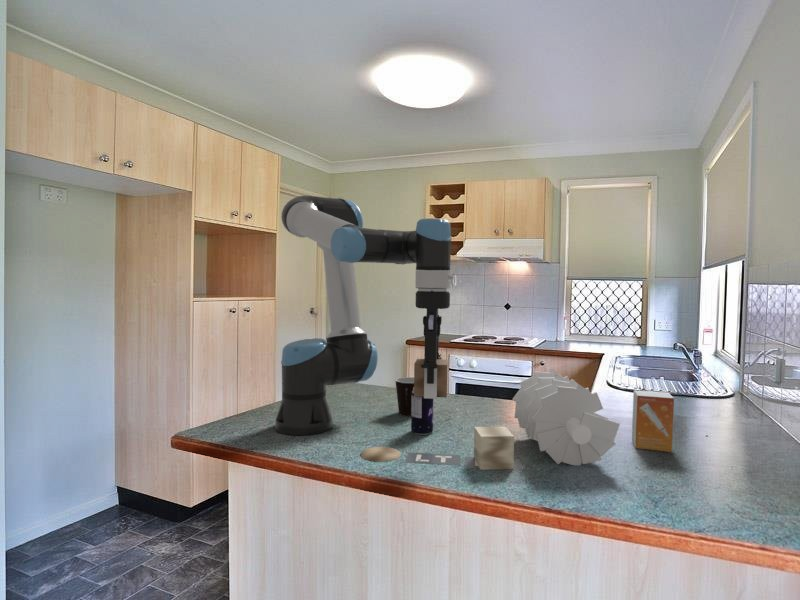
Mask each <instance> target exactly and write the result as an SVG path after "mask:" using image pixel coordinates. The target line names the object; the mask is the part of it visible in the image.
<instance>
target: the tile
mask: <svg viewBox="0 0 800 600" xmlns="http://www.w3.org/2000/svg"><path fill="white" fill-rule="evenodd" d="M461 456H462V455H461V454H449V453H448V454H443V453H425V452H409V451H408V452H407V455H406V456H405V457H406V458H405V461H404V463H405V464H407V463H408V464H409V463H410V464H425V465H443V466H444V465H445V466H448V465H449V466H459V467H460V466H461V461H462V460H461Z"/></svg>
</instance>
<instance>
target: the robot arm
mask: <svg viewBox="0 0 800 600" xmlns="http://www.w3.org/2000/svg"><path fill="white" fill-rule="evenodd" d="M280 217H281V222H282V224H283V227H284V228H285V230H286V231H287V232H289V233H290V234H292V235H293V236H296V237H298V238H308V239H310V240H312V241H314V242H315V243H316V244H317V247H318V248H319V249H321V250H322V254H323V263H324V272H325V283H326V284H325V285H326V293H327V303H328V304H327V305H328V314H329V323H330V333H328V335H327V336H326V338H325V339H326V340H325V339H324V338H319V337H317V338H316V337H314V338H305V339H300V340H295V341H292V342H289V343H287V344H285V345H284V347H283V348H282V350H281V351H282V354H281V361H280V362H281V363H280V364H281V402H280V405H279V408H278V411H277V415H276V417H275V421H274V423H275V424H274V426H275V431H276V432H278V433H281V434H285V435H290V436H307V435H315V434H319V433H324V432H327V431H329V430H330V429H331V428H332V427H333V415H332V412H331V410H330V405H329V404H328V401H327V387H329V386H337V385H344V384H345V385H346V384H355V383H356V384H357V383H359V382H365V381H367V380H369V379H370V378H372V376H373V375H374V373H375V371H376V369H377V366H378V357H379V355H378V349H377V347H376V345H375V343H374V341H372V340H370V339H368V334H367V332H366V331H365V330H363V329H362V326H361V319H360V318H361V317H360V308H359V297H358V287H357V281H356V270H355V263H371V264H372V263H375V264H376V263H378V264H379V263H380V264H394V265H406V264H408V265H409V264H415V288H416V289H417V291H416V292H415V307H416V308H418V309H422V310H423V309H426V315H424V316H423V317H422V325H423V336H424V358H423V359H424V365H421V368H424V398H430V399H433V400H436V399H437V398H438V397H437V368H436V367H437V359H442V356H440V353H439V351H440V350H439V344H440V343H439V342H440V341H439V337H441V336H440V334H441V326H442V315H441V316H440V314H439V310H445V309H449V308H450V307H451V302H450V301H451V293H450V291H448V290H449V289H450V287H451V282H450V281H451V280H453V279H454V275H453V274H451V256H452V255H451V252H452V251H451V249H452V248H451V247H452V234H451V233H452V232H451V231H452V230H451V223H450V221H449V220H447V219H444V218H430V217H429V218H420V219H419V220H417V222H416V227H415V230H407V231H406V230H404V231H403V230H390V229H375V228H374V229H373V228H366V227H364V225H363V224H364V221H363V220H364V219H363V214H362V212H361V209H360V207H359V206H358V204H356V203H355V202H354V201H352V200H348V199H344V198H341V197H339V198H336V197H335V198H334V197H324V196H316V195H315V196H314V195H299V196H296V197H293V198H292V199H290V200H289V201H287V202H286V204H285V205H284V206H283V208H282V210H281V216H280Z"/></svg>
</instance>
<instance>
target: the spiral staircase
mask: <svg viewBox="0 0 800 600" xmlns="http://www.w3.org/2000/svg"><path fill="white" fill-rule="evenodd" d="M519 385H520V388H519V389H518V391H517V392H516V393H515V395H514V396H513V397H512V401H514V402H515V408H514V409H515V410H514V416H513V417H514V419H517V421H518V427H519V428H521V429H524V431H525V433H526V437H527V438H528V439H529V438H530V439H531V440H534V441H537V443H538V448H539V451H540V452H544V451H545V453H546V454H547V455H549V456H550V458H552V460H553V461H554V462H555V463H556V464H557V465H559V464H561V463H564V464H568V465H569V466H570V465H571V466H581V465H585V464H590V463H595V462H599V461H602V457H603V456H604V455H606V453H607V452H608V451H610V450H611V449H612V448H613V447H615V445H616V442H615V438H616V436H617V432H618V431H619V427H620V423H619V422H616V421H613V420H611V419H609V418H608V417H606V416H605V415H602V414H598V413H597V412H599V411H602V410H603V409H604V407H603V405H602V402H601V400H600V397H599V395H598V392H596V391H595V392H590V388H589V387H584V386H582V385H581V384H579V383H578V382H576V380H575V379H574V378H571V379H570V378H569V376H568V375H565V376H562V375H561V374H559V373H558V372H556V371H555V370H553V369H550V371H549V372H548V371H546V372H545V371H544V372H543V371H533V375H532V376H530V377H528V378H526V379H523V380H521V381H519Z"/></svg>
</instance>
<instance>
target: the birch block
mask: <svg viewBox="0 0 800 600" xmlns="http://www.w3.org/2000/svg"><path fill="white" fill-rule="evenodd" d="M473 429H474V431H473V432H474V433H473V444H474V445H473V457H474V459H475V461H476V462H477V464H478V466H479V468H478V469H480V471H481V470H483V471H484V470H503V469H514V459H515V457H514V455H515V453H514V452H515V435H513V434H512V432H511V431H510V430H509V429H508V427H506V426H474V427H473Z"/></svg>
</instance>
